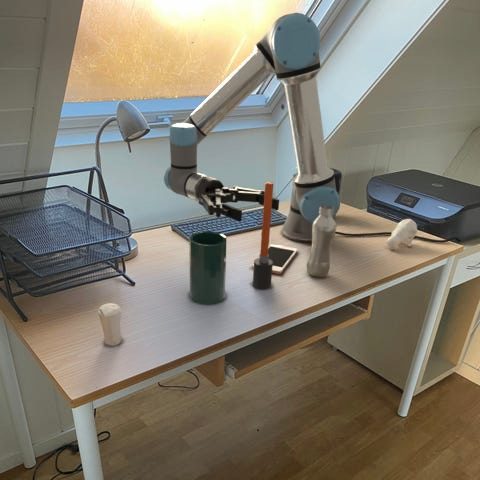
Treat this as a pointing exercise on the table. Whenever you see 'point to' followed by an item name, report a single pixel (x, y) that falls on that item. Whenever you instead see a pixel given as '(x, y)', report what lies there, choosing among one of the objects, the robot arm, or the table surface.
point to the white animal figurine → (402, 234)
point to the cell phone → (280, 257)
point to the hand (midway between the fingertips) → (260, 210)
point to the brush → (264, 245)
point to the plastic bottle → (321, 242)
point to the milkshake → (110, 323)
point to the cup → (207, 267)
